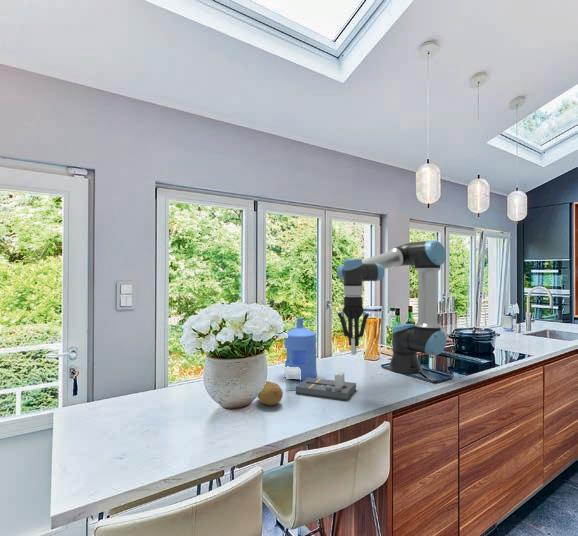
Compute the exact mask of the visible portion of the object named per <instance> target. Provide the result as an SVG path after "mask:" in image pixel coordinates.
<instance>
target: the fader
mask: <svg viewBox="0 0 578 536" xmlns="http://www.w3.org/2000/svg"><path fill="white" fill-rule="evenodd" d="M334 381H335V387H336V386H340V387H341V388H342V387H343V386H344V385H345V382H346V380H345V372H341V371H340V372H339V371H337V372H336V373H335V374H334Z"/></svg>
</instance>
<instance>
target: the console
mask: <svg viewBox="0 0 578 536" xmlns="http://www.w3.org/2000/svg"><path fill="white" fill-rule="evenodd" d="M356 390H357V383H356V382H350V381H345V385H344V386H343V387H342V388H341V387H340V386H336V387H335V379H334V380H333V379H325V378H317V377H315V378H309V377H308V378H307V379H305V380H302V381H301V382H299V384H297V385H296V386H295V395H301V394H302V395H303V396H308V397H316V398H323V399H329V400H330V399H331V400H337V401H344V402H347V401H349V399H350V398H351V397H352V395H354V393H355V392H356ZM302 395H301V396H302Z"/></svg>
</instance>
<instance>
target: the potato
mask: <svg viewBox="0 0 578 536" xmlns="http://www.w3.org/2000/svg"><path fill="white" fill-rule="evenodd" d="M283 393H284V392H283V390H282V387H281V386H280V385H279V384H278V383H276V382H272V381H267V380H266V384H265V385H264V388H263V389H262V391H261V392H260V393H259V394H258V396H257V395H256V396H257V399H258V400H260V402H261V403H262V404H264V405H268V406H274V405H277V404H278V403H280V401H282V399H283V395H284V394H283Z"/></svg>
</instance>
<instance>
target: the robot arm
mask: <svg viewBox="0 0 578 536" xmlns="http://www.w3.org/2000/svg"><path fill="white" fill-rule="evenodd" d="M446 260H447V252H446V249H445V247H444V245H443V243H442V242H440V241H438V240H422V241H411V242H408V243H404V244H402V245H398V246H396V247H393V248H390V249H389V250H388V251H386V252H384V253H380V254H378V255H377V254H376V255H374V256H369V257H367V258H365V259H362V258H345V259H344V260H343V264H341V265H339V266H338V267H337V269H336V270H337V271H336V275H337V278H338V279H340V280H341V281H343V296H344V297H343V308H342V311H341V312H338V313H337V316H338V317H339V320H340V324H341V327H342V332H343V336H344V337H346V338H348V345H349V347H350V348H351V349H350V353H351V355H352V356H353V355H354V356H355V355H357V353H358V352H357V351H358V350H357V347H359V345H360V344H359V343H360V338H362V337H363V336H364V333H365V330H366V325H367V320H368V318H369V317H370V313H367V312H366V311H365V309H364V307H363V303H364V301H363V298H364V297H363V282H377V281H381V280H382V279H384V277H385V270H387V269H390V268H393V267H395V268H398V267H402V266H414V270H415V271H416V272H417V291H418V292H417V296H418V297H417V315H418V316H417V319H418V320H417V323H403V324H402V323H401V324H396V325H393V326H392V333H391V336H392V337H391V338H392V355H391V358H390V361H389V370H390V371H392V372H395V373H400V374H417V373H416V372H418V373H420V372H421V371H422V369H421V368H422V366H421V363H420V361H419V357H418V353H420V354H425V355H428V356H430V355H431V356H438V355H440V354H441V353H443V351H444V350H445V348H446V345H447V335H446V334H445V332H444V331H442V326H441V325H440V324H439V323H438V272H439V271H440V270H441V269H442V268H441V267H442V265H443V264H444V263H445V261H446ZM345 316H346V317H345ZM361 316H362V320H361V324H360V318H361ZM346 318H347V322H348V323H347V322H346ZM353 322H354V323H353ZM353 324H354V325H353ZM347 325H348V326H347ZM353 329H354V331H353ZM353 333H354V334H353ZM420 370H421V371H420ZM419 371H420V372H419Z"/></svg>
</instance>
